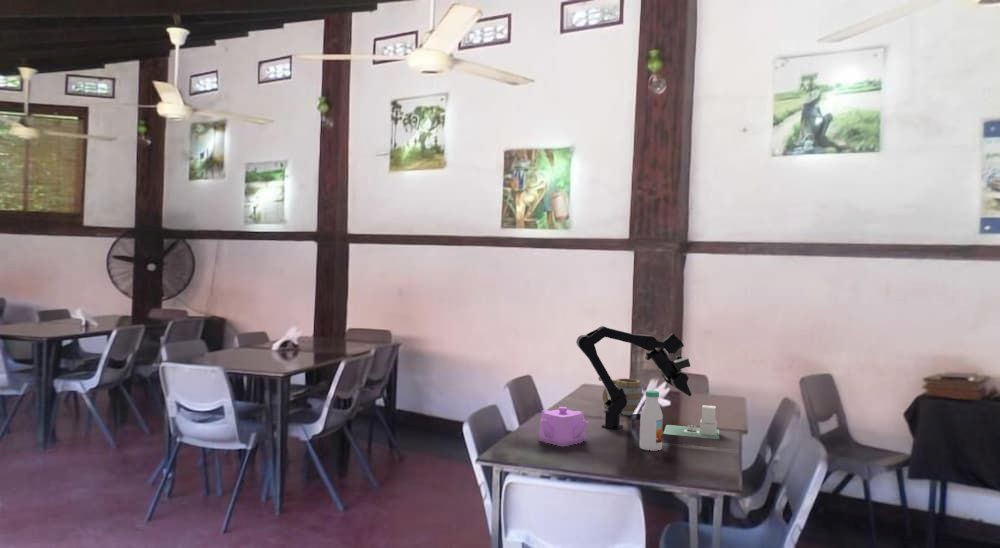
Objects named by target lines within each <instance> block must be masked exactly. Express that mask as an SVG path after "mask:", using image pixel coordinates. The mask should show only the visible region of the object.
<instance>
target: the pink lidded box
mask: <svg viewBox="0 0 1000 548" xmlns="http://www.w3.org/2000/svg"><path fill="white" fill-rule="evenodd" d="M539 422H540V424H539V427H538V428H539V429H538V439H539V441H540V440H542V441H545V442H548V443H552V444H556V445H559V446H566V445H572V444H576V443H579V444H581V443H580V442H582V443H584V442H585V440H586V436H587V435H586V434H587V433H586V430H587V429H586V428H587V426H588V425H589V421H588V420H586V419H585V417H584V412H583V411H582V410H581V411H580V410H575V411H574V410H571V409H568V407H567V406H559V407H558V409H553V410H547V409H545V410H544V409H543V410H541V413H540V420H539ZM583 441H584V442H583ZM576 445H577V444H576ZM572 446H573V445H572Z"/></svg>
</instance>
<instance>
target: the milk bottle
mask: <svg viewBox="0 0 1000 548" xmlns="http://www.w3.org/2000/svg"><path fill="white" fill-rule="evenodd" d="M659 396H660V392H659V391H657V390H646V391H645V402H644V405H643V407H642V408H641V409H642V411H641V414H640V417H639V419H640V421H639V422H640V423H639V448H640V449H641V450H644V451H649V450H650V451H651V452H656V451H658V450H659V451H661V450H662V449H663V432H664V431H663V429H664V427H663V426H664V420H663V419H664V416H663V411H662V409H661V408H662V407H661V406H660V403H659V399H660V397H659Z"/></svg>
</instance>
